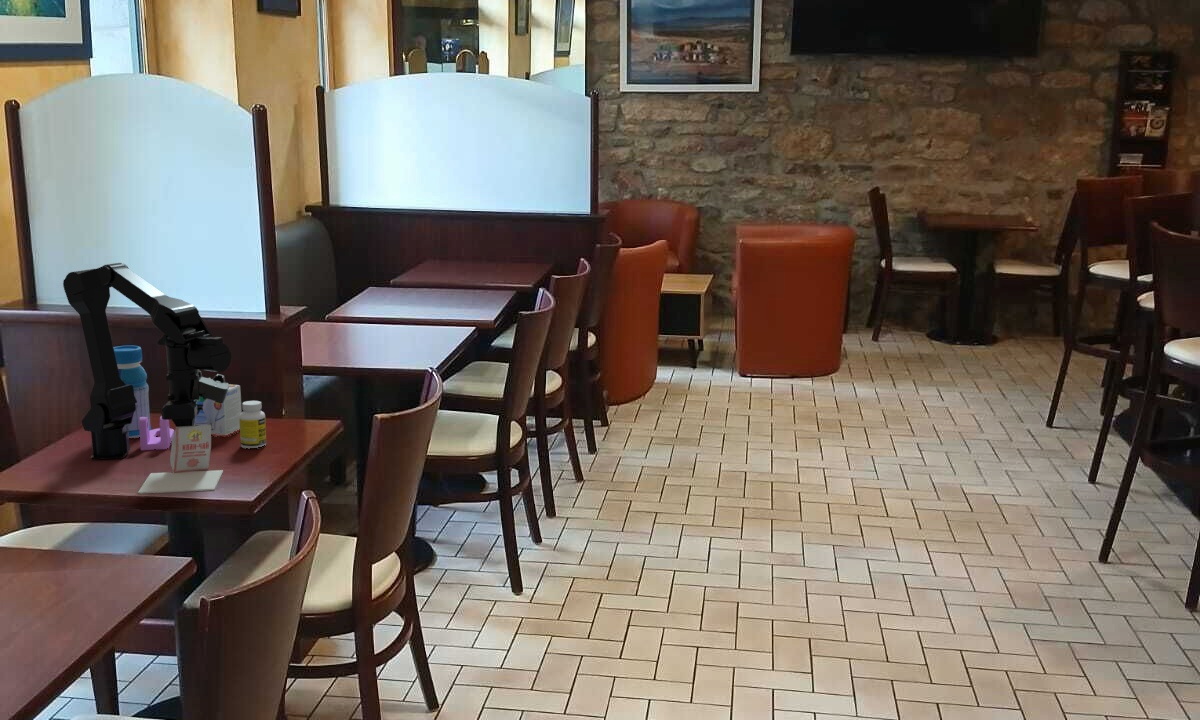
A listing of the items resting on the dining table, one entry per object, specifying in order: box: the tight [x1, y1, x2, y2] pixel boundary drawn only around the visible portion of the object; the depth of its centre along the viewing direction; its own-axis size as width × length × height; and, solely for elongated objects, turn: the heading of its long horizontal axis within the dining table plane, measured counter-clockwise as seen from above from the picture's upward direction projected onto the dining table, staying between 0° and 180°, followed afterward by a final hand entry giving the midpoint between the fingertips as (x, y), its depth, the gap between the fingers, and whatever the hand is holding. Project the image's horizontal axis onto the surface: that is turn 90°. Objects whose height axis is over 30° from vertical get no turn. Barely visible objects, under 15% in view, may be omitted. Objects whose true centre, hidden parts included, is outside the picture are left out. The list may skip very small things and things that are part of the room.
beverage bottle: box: [113, 345, 152, 439], centre depth 257 cm, size 8×8×20 cm
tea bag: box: [169, 425, 212, 473], centre depth 231 cm, size 4×7×10 cm, turn 120°
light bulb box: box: [194, 383, 243, 435], centre depth 261 cm, size 11×7×11 cm, turn 73°
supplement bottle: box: [239, 400, 267, 450], centre depth 250 cm, size 5×5×10 cm
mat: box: [137, 469, 224, 495], centre depth 226 cm, size 14×12×1 cm
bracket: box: [139, 415, 175, 451], centre depth 253 cm, size 13×6×7 cm, turn 13°
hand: (188, 442), depth 233 cm, fingers closed
